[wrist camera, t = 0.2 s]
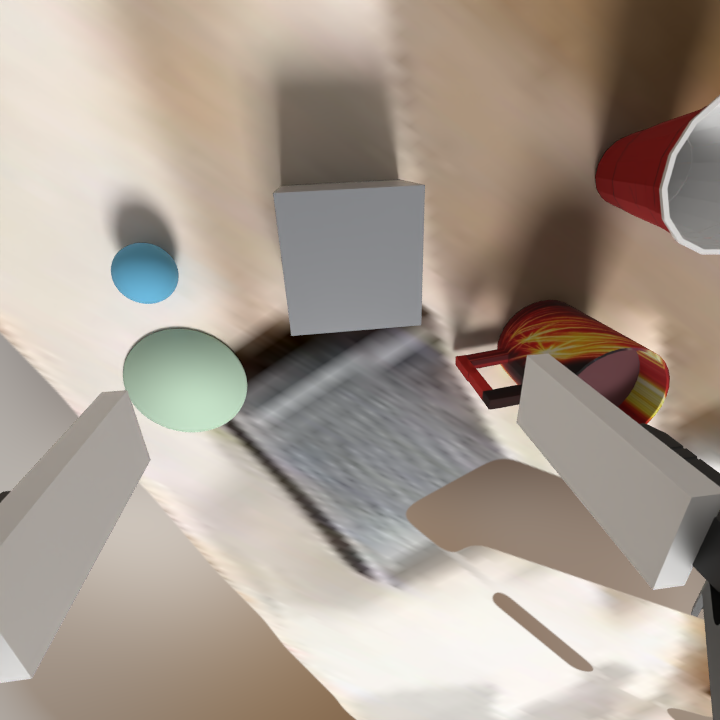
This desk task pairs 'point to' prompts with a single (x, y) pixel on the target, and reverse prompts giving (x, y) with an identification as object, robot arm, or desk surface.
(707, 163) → the plastic cup
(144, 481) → the desk surface
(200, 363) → the disc
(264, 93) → the desk surface
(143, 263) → the ball
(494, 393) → the mug
